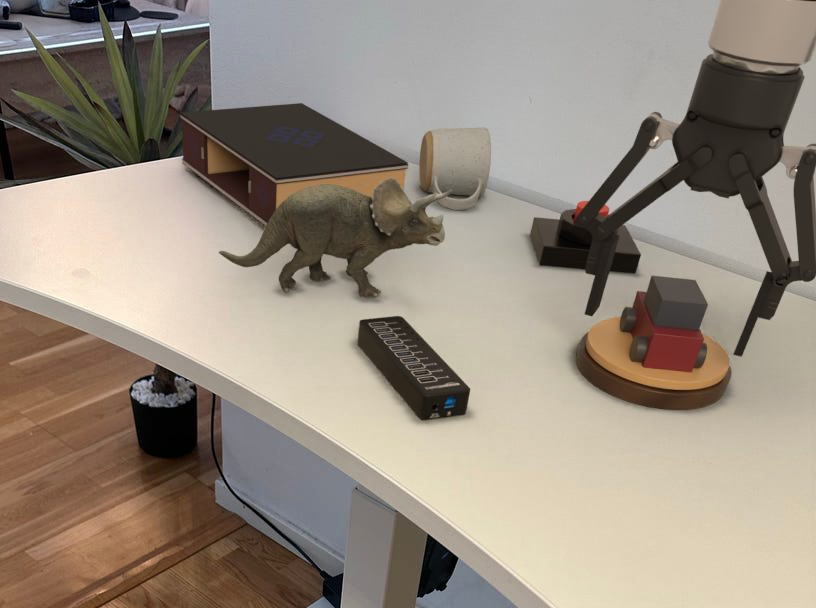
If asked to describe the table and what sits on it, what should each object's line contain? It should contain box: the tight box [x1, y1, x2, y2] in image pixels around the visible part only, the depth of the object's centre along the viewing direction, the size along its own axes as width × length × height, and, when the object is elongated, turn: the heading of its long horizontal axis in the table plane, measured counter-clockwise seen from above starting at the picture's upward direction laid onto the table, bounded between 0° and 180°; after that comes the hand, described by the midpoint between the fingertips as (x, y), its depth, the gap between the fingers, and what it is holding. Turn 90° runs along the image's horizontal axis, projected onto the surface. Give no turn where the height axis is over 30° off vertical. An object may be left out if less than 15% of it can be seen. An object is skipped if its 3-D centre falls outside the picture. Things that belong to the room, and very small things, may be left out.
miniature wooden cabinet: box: [179, 102, 409, 227], centre depth 110 cm, size 17×25×7 cm
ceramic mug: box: [418, 126, 492, 211], centre depth 114 cm, size 11×8×8 cm
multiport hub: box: [357, 315, 471, 421], centre depth 81 cm, size 4×14×2 cm, turn 22°
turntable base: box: [575, 330, 733, 411], centre depth 85 cm, size 14×14×2 cm
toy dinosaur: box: [218, 177, 452, 299], centre depth 90 cm, size 22×8×11 cm, turn 90°
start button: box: [574, 200, 610, 221], centre depth 103 cm, size 4×4×2 cm
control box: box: [529, 208, 642, 275], centre depth 104 cm, size 11×9×4 cm
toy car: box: [586, 275, 731, 390], centre depth 82 cm, size 13×13×6 cm
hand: (664, 330), depth 83 cm, fingers open, 13 cm apart
